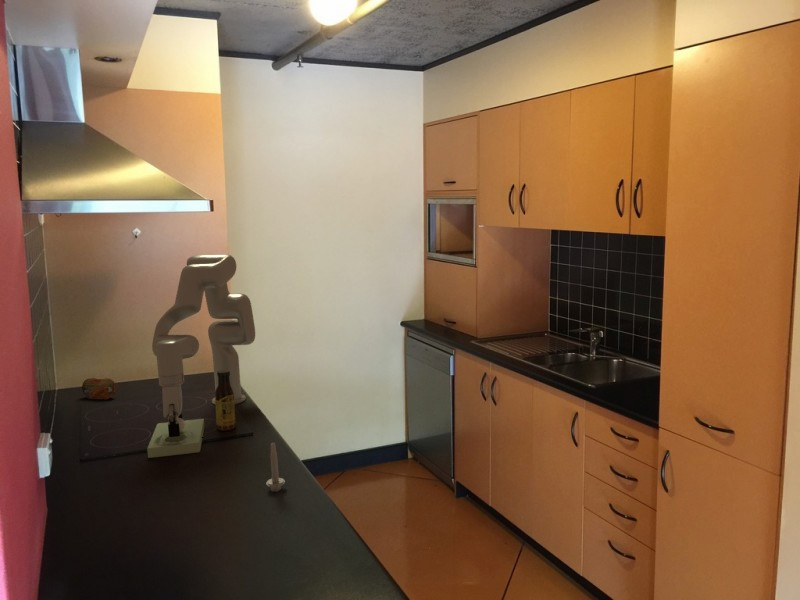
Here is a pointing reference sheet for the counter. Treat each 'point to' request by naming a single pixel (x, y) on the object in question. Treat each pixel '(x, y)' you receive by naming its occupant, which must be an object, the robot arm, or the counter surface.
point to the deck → (176, 439)
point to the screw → (274, 471)
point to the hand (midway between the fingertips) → (176, 431)
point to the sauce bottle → (224, 402)
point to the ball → (181, 424)
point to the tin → (99, 388)
